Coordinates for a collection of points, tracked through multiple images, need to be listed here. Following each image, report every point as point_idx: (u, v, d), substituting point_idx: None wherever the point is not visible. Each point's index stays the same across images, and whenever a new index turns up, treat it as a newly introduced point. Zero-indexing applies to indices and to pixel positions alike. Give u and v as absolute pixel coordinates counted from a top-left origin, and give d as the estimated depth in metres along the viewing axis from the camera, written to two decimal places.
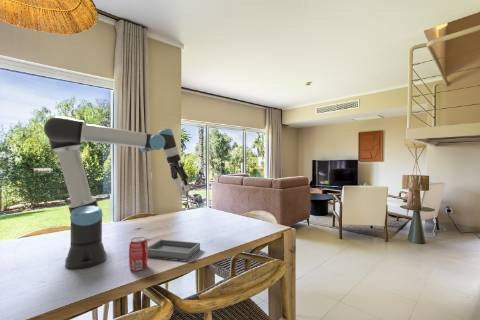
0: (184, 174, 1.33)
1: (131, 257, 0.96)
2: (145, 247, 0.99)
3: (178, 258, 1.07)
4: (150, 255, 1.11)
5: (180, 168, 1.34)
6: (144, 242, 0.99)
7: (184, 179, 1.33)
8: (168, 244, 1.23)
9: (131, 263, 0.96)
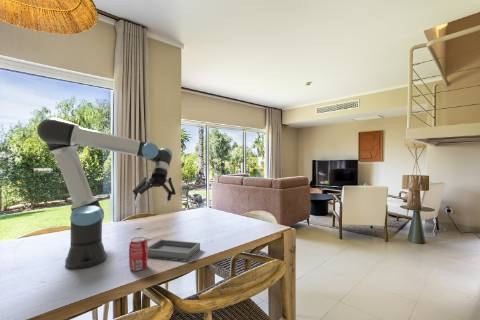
0: None
1: (131, 257, 0.96)
2: (145, 247, 0.99)
3: (178, 258, 1.07)
4: (150, 255, 1.11)
5: (171, 183, 1.21)
6: (144, 242, 0.99)
7: (172, 192, 1.17)
8: (168, 244, 1.23)
9: (131, 263, 0.96)
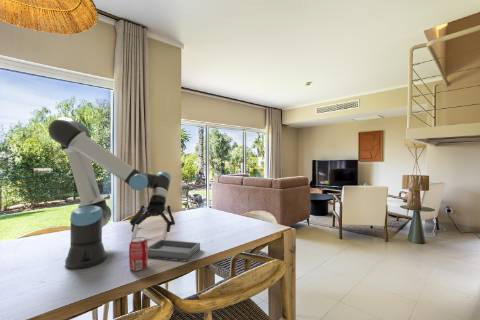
0: (173, 219, 1.13)
1: (131, 257, 0.96)
2: (145, 247, 0.99)
3: (178, 258, 1.07)
4: (150, 255, 1.11)
5: (170, 211, 1.15)
6: (144, 242, 0.99)
7: (172, 223, 1.11)
8: (168, 244, 1.23)
9: (131, 263, 0.96)
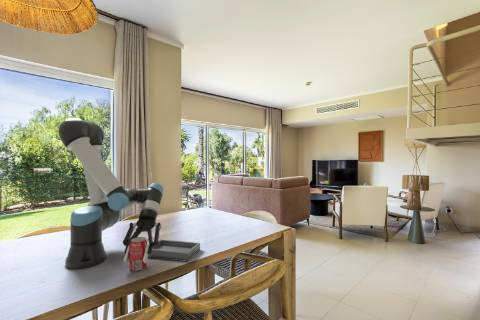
0: (157, 239, 1.03)
1: (131, 257, 0.96)
2: (145, 247, 0.99)
3: (178, 258, 1.07)
4: (150, 255, 1.11)
5: (158, 230, 1.06)
6: (144, 242, 0.99)
7: (154, 244, 1.01)
8: (168, 244, 1.23)
9: (131, 263, 0.96)
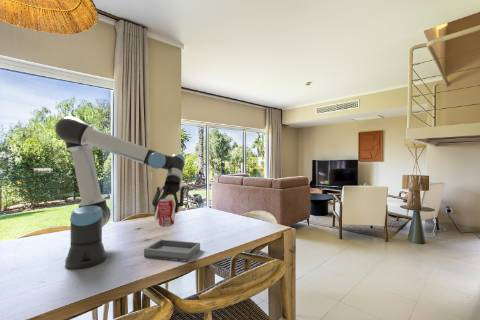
0: (183, 200, 1.14)
1: (160, 215, 1.08)
2: (172, 206, 1.10)
3: (178, 258, 1.07)
4: (150, 255, 1.11)
5: (183, 193, 1.17)
6: (171, 202, 1.10)
7: (180, 204, 1.12)
8: (168, 244, 1.23)
9: (160, 220, 1.08)
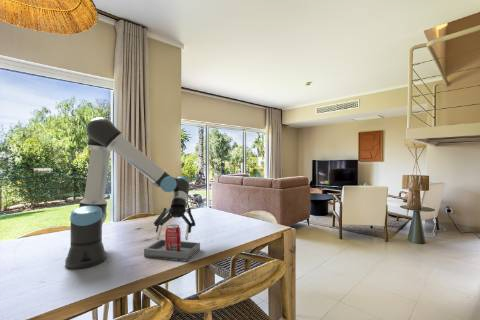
0: None
1: (167, 241, 1.13)
2: (179, 233, 1.15)
3: (178, 258, 1.07)
4: (150, 255, 1.11)
5: None
6: (178, 228, 1.15)
7: (192, 224, 1.18)
8: None
9: (168, 246, 1.13)
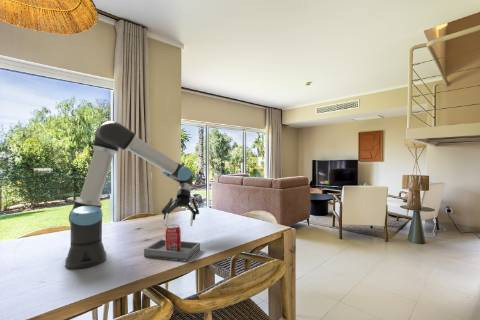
0: (197, 209, 1.34)
1: (168, 241, 1.13)
2: (179, 233, 1.15)
3: (178, 258, 1.07)
4: (150, 255, 1.11)
5: (195, 203, 1.36)
6: (178, 228, 1.15)
7: (196, 212, 1.31)
8: None
9: (168, 246, 1.13)
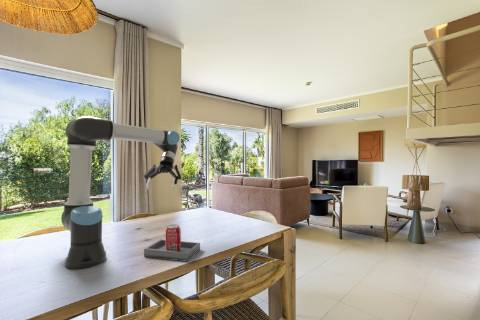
0: (180, 175, 1.36)
1: (168, 241, 1.13)
2: (179, 233, 1.15)
3: (178, 258, 1.07)
4: (150, 255, 1.11)
5: (177, 169, 1.38)
6: (178, 228, 1.15)
7: (178, 177, 1.33)
8: None
9: (168, 246, 1.13)
